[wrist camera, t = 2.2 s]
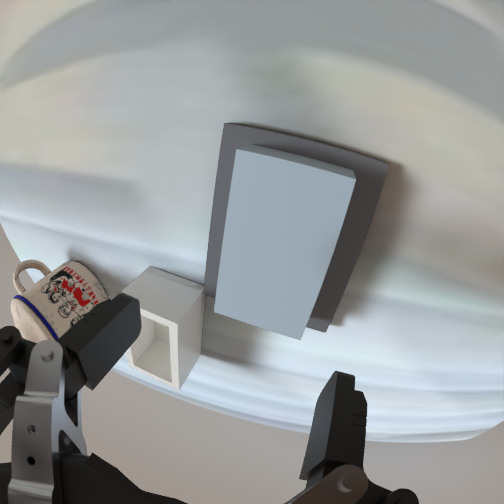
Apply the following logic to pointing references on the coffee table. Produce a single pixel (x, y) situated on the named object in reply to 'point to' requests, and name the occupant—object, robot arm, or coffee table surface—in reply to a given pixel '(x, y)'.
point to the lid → (279, 237)
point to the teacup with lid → (54, 300)
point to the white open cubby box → (167, 326)
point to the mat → (355, 221)
